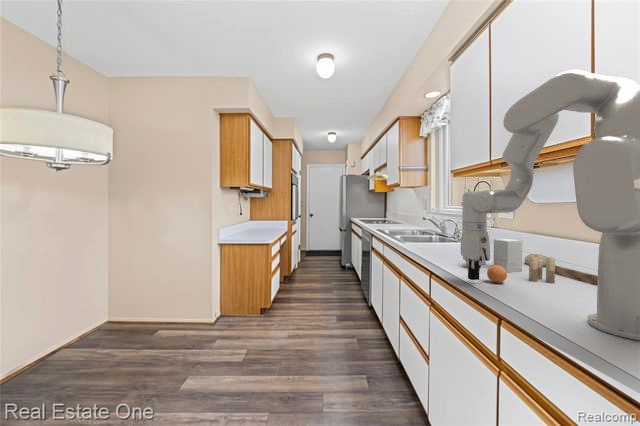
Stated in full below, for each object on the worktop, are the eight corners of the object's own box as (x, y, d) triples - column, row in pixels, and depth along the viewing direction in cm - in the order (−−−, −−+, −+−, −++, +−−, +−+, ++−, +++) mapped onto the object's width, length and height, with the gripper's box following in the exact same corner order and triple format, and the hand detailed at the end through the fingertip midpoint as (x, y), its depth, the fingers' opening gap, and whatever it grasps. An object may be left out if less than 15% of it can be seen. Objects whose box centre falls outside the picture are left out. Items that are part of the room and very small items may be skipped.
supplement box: (522, 271, 118) (523, 240, 117) (507, 272, 116) (507, 241, 116) (507, 267, 125) (508, 238, 125) (492, 268, 124) (493, 238, 123)
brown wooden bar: (606, 286, 96) (606, 277, 96) (601, 286, 96) (602, 277, 96) (551, 271, 116) (551, 264, 116) (548, 272, 116) (548, 264, 116)
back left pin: (543, 279, 106) (544, 255, 106) (537, 279, 106) (538, 256, 106) (538, 277, 109) (538, 254, 108) (532, 277, 108) (532, 254, 108)
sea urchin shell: (540, 258, 134) (548, 248, 128) (547, 273, 128) (557, 263, 123) (518, 258, 135) (526, 248, 129) (525, 273, 129) (534, 263, 123)
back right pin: (556, 282, 101) (556, 258, 101) (550, 283, 101) (550, 258, 101) (550, 281, 104) (550, 257, 103) (544, 281, 104) (544, 257, 103)
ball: (511, 284, 100) (511, 267, 100) (494, 285, 100) (495, 267, 99) (498, 279, 106) (498, 263, 106) (483, 280, 106) (483, 264, 105)
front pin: (538, 281, 103) (539, 257, 103) (532, 281, 103) (533, 257, 103) (533, 279, 106) (533, 256, 105) (527, 279, 106) (527, 256, 105)
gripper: (499, 228, 94) (499, 284, 95) (470, 224, 109) (470, 273, 110) (478, 229, 93) (477, 286, 94) (451, 225, 108) (451, 274, 109)
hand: (473, 279), depth 102 cm, fingers closed
